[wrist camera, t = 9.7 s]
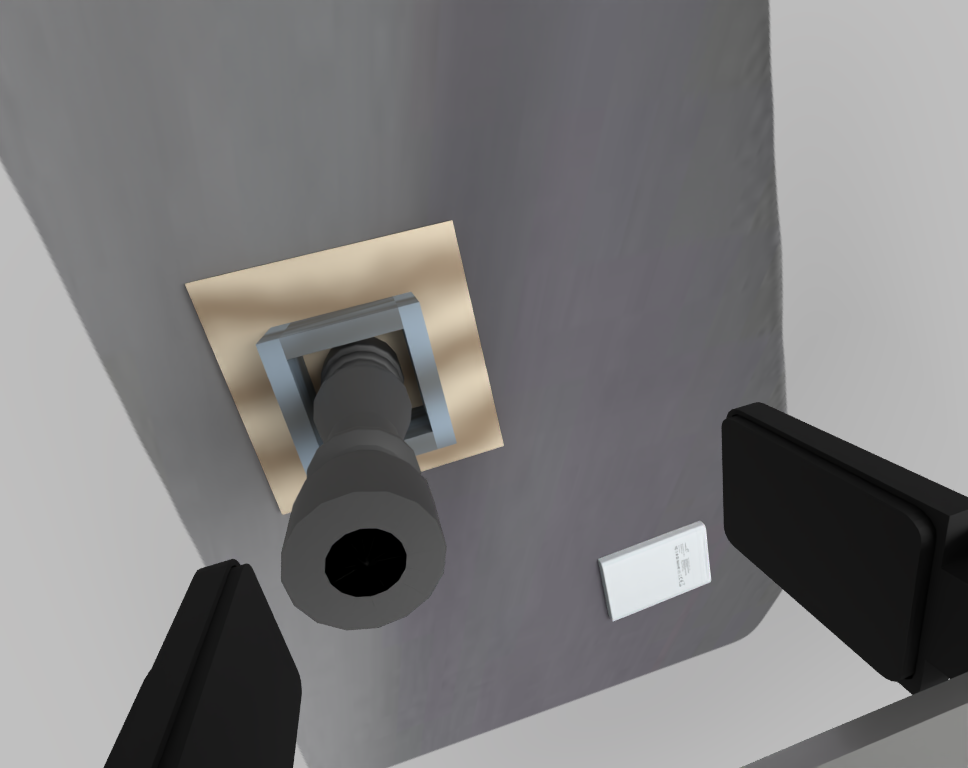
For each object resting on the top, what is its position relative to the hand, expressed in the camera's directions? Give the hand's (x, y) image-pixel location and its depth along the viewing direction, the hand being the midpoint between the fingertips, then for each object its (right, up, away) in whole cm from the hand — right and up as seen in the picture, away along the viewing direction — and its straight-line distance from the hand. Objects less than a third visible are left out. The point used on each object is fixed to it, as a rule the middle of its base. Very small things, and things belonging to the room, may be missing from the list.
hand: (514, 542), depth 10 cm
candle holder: (-11, +4, +31) cm, 33 cm away
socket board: (-11, +4, +32) cm, 34 cm away
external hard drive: (+18, -17, +47) cm, 53 cm away
